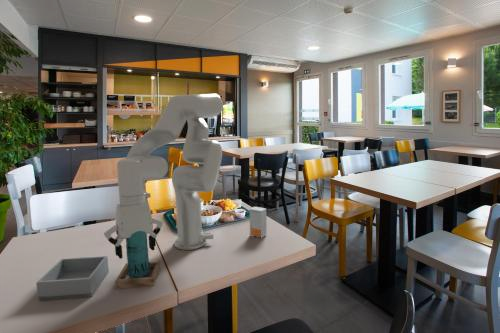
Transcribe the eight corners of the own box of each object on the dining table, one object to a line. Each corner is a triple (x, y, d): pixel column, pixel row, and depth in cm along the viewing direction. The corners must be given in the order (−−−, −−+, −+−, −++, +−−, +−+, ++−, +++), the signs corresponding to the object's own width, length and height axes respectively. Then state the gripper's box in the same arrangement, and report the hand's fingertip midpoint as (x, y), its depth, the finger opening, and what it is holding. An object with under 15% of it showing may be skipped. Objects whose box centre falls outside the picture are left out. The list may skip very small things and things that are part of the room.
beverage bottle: (131, 272, 98) (126, 214, 95) (152, 271, 99) (148, 213, 95) (125, 283, 92) (119, 221, 88) (147, 282, 92) (143, 220, 89)
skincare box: (249, 236, 127) (249, 208, 125) (254, 232, 131) (254, 206, 129) (261, 238, 124) (261, 211, 122) (266, 235, 127) (266, 208, 125)
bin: (108, 271, 99) (107, 256, 98) (91, 297, 85) (89, 278, 84) (63, 274, 97) (61, 258, 96) (38, 301, 84) (36, 282, 83)
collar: (160, 267, 101) (160, 261, 101) (153, 285, 90) (153, 278, 90) (126, 270, 100) (126, 263, 100) (115, 288, 89) (115, 281, 89)
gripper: (156, 193, 99) (159, 242, 101) (99, 201, 89) (103, 256, 91) (165, 197, 93) (167, 249, 95) (104, 207, 83) (109, 265, 85)
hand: (136, 252), depth 93 cm, fingers open, 9 cm apart
